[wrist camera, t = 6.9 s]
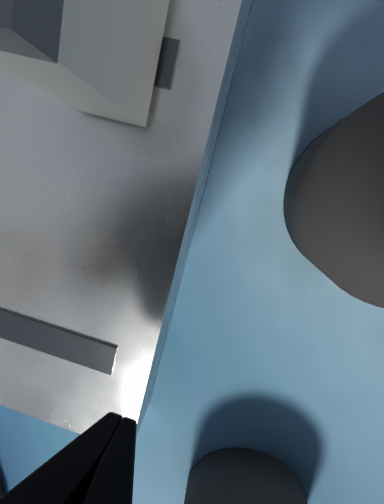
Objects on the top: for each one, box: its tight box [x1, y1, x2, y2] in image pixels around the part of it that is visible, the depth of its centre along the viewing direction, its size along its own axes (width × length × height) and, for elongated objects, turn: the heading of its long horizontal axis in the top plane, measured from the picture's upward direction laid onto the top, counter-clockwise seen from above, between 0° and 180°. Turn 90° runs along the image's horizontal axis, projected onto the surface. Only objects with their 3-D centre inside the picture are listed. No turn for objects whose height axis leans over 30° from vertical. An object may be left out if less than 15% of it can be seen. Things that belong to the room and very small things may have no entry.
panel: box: [0, 0, 253, 436], centre depth 10 cm, size 14×18×3 cm
